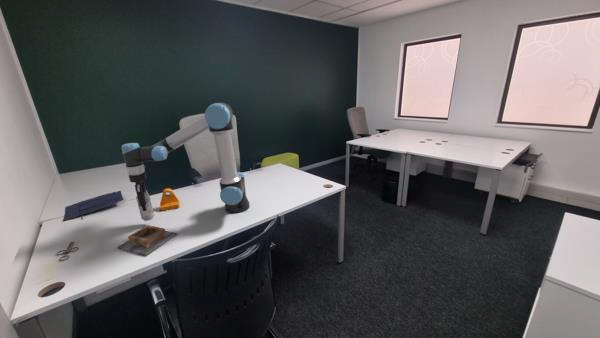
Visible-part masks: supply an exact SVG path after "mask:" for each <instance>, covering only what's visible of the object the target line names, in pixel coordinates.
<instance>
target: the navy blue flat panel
mask: <svg viewBox="0 0 600 338" xmlns="http://www.w3.org/2000/svg"><path fill="white" fill-rule="evenodd" d="M121 201H124V197H123V195H122V191H121V190H118V191H113V192H109V193H106V194H105V193H104V194H101V195H98V196H95V197H91V198H89V199H85V200H81V201H79V202H76V203H72V204H70V205H67V206H65V209H64V210H65V211H64V212H65V213H64V216H63V219H62V222H65V221H68V220H71V219H74V218H77V217H80V216H82V215H86V214H88V213H92V212H94V211H97V210H100V209H103V208H107V207H110V206H113V205H115V204H117V203H119V202H121Z"/></svg>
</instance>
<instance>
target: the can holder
mask: <svg viewBox="0 0 600 338" xmlns="http://www.w3.org/2000/svg"><path fill="white" fill-rule="evenodd" d="M177 235H178V233H177V232H173V231H170V230H166V228H164V227H160V226H155V225H149V224H147V225H146V226H144V227H143V228H140V229H139V230H138V231H136V232H134V233H132V234H131V235H129V236H127V240H126V241H125V242H122V244H120V245H118V246H117V249H118V250H121V251H124V252H125V251H126V252H129V253H133V254H136V255H140V256H143V257H147V256H149V255H151V254H152V253H153V252H155V251H156V250H158V249H159V248H161V247H162V246H163V245H164V244H165V245H166V243H168V242H169V241H171V240H172V239H174V238H175V237H177Z"/></svg>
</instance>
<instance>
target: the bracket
mask: <svg viewBox="0 0 600 338" xmlns="http://www.w3.org/2000/svg"><path fill="white" fill-rule="evenodd" d="M177 208H180V199H179V198H178V196H177V195H176V194H175V193H174V191H173V189H171V188H165V189H163V190H162V195H161V199H160V203H159V211H166V212H167V210H168V211H172V210H176V209H177Z"/></svg>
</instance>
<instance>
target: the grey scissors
mask: <svg viewBox="0 0 600 338" xmlns="http://www.w3.org/2000/svg"><path fill="white" fill-rule="evenodd" d="M74 243H75V242H74V240H72V241H70V242H69V244H68V246H67V248H66V249H62V250H59V251H57V252H56V256H61V255H63V256H61V257H59V259H58V260H59V262H64V261H66V260H68V259H69V258H70V255H69V254H70V253H75V252H76V251H78V250H79V247H78V246H75V247H73V245H74ZM63 258H64V259H63Z"/></svg>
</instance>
